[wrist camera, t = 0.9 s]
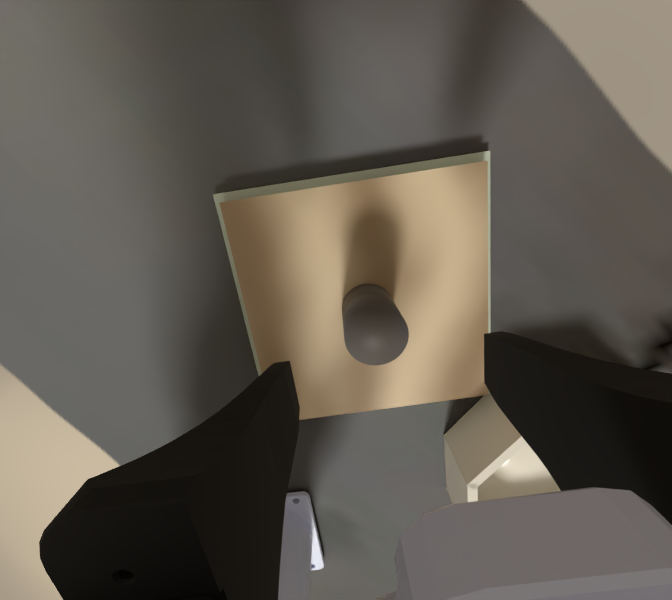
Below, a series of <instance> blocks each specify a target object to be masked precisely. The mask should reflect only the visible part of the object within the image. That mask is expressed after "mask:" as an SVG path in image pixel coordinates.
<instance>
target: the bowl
mask: <svg viewBox="0 0 672 600" xmlns="http://www.w3.org/2000/svg"><path fill="white" fill-rule="evenodd" d="M443 436H444V450H445V472H446V488H447V491H448V493H449V496H450V498H451V501H452V503H453V504H458V503H466V502H474V501H482V500H491V499H499V498H507V497H516V496H524V495H532V494H540V493H549V492H557V491H561V490H560V489H559V487H558V486H557V484H556V482H555V481H554V479H553V478H552V476H551V475H550V473H549V472H548V470H547V469H546V467H545V466H544V464H543V463H542V462H541V460H540V459H539V458H538V456H537V455H536V454H535V452H534V451H533V450H532V449H531V447H530V446H529V445H528V444H527V442H526V441H525V440H524V439H523V437H522V436H521V435H520V434H519V432H518V431H517V430H516V429H515V427H514V426H513V425H512V423H511V422H510V421H509V420H508V418H507V417H506V416H505V415H504V413H503V412H502V411H501V409H500V408H499V407H498V405H497V404H496V402H495V400H494V399H493V397H492V395H491V394H490V393H489V395H484V396H483V397H482V398H481V399H480V400H479V401H478V402H477V403H476V404H475V405H474V406H473V407H472V408H471V409H470V410H469V411H468V412H467V413H466V414H465V415H464V416H463V417H462V418H461V419H460V420H458V421H457V422H456V423H455V424H454V425H453V426H452V427H451V428H450V429H449V430H448V431H447V432H446V433H445V434H444V435H443Z"/></svg>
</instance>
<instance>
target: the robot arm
mask: <svg viewBox="0 0 672 600" xmlns="http://www.w3.org/2000/svg"><path fill="white" fill-rule="evenodd" d="M484 383H485V385H486V386H487V388H488V390H489V392H490V394H491V395H492V397H493V399H494V400H495V402H496V404H497V405H498V407H499V408H500V409H501V411H502V412H503V413H504V415H505V416H506V417H507V418H508V420H509V421H510V422H511V423H512V425H513V426H514V427H515V429H516V430H517V431H518V432H519V434H520V435H521V436H522V437H523V439H524V440H525V441H526V442H527V444H528V445H529V446H530V447H531V449H532V450H533V451H534V452H535V454H536V455H537V456H538V458H539V459H540V460H541V462H542V463H543V464H544V466H545V467H546V469H547V470H548V472H549V473H550V475H551V476H552V478H553V479H554V481H555V482H556V484H557V486H558V487H559V489H560V490H561V491H557V492H549V493H540V494H532V495H524V496H516V497H507V498H499V499H491V500H482V501H474V502H466V503H458V504H451V505H448V506H444V507H441V508H438V509H435V510H432V511H429V512H426V513H423V514H422V515H421V516H420V517H419V518H418V519H417V520H416V521H415V522H413V523H412V524H411V525H410V526H409V527H408V528H407V529H406V530H405V531H404V532H403V533H402V534H401V535H400V538H399V542H398V546H397V550H396V555H395V565H396V572H397V580H398V585H397V591H396V592H393V593H390V594H388V595H385V596H382V597H380V598H377V599H374V600H672V374H670V373H664V372H657V371H651V370H645V369H639V368H634V367H629V366H624V365H620V364H615V363H610V362H606V361H602V360H597V359H593V358H590V357H586V356H582V355H579V354H575V353H572V352H568V351H565V350H562V349H558V348H555V347H552V346H549V345H546V344H543V343H539V342H536V341H533V340H530V339H527V338H524V337H521V336H517V335H514V334H510V333H506V332H501V331H500V332H493V333H486V334H484ZM299 414H300V406H299V401H298V396H297V392H296V387H295V382H294V378H293V373H292V368H291V364H290V361H284V362H276V363H273V364H272V365H271V366H269V367H268V368H267V369H266V370H265V371H264V372H263V373H262V374H261V375H260V376H259V377H258V378H257V379H256V380H255V381H254V382H252V383H251V384H250V385H249V386H248V387H247V388H246V389H245V390H244V391H243V392H242V393H240V394H239V395H238V396H237V397H236V398H235V399H233V400H232V401H231V402H230V403H229V404H228V405H226V406H225V407H224V408H223V409H221V410H220V411H219V412H217V413H216V414H214V415H213V416H212V417H210V418H209V419H207V420H206V421H204V422H203V423H202V424H200V425H198V426H197V427H195V428H194V429H192V430H190V431H189V432H187V433H185V434H184V435H182V436H180V437H178V438H177V439H175V440H173V441H172V442H170V443H168V444H166V445H164V446H162V447H160V448H158V449H156V450H154V451H152V452H150V453H148V454H146V455H144V456H142V457H140V458H138V459H136V460H133V461H131V462H129V463H127V464H124V465H122V466H119V467H117V468H115V469H112V470H110V471H107V472H105V473H103V474H100V475H98V476H95V477H93V478H90V479H88V480H87V481H86V482H85V483H84V484H83V485H82V487H81V488H80V489H79V490H78V491H77V492H76V494H75V495H74V496H73V497H72V498H71V499H70V501H69V502H68V503H67V504H66V505H65V507H64V508H63V509H62V510H61V511H60V512H59V513H58V515H57V516H56V517H55V518H54V519H53V520H52V522H51V523H50V524H49V525H48V526H47V528H46V529H45V530H44V532H43V534H42V537H41V540H40V542H39V544H40V559H41V561H42V563H43V566H44V568H45V570H46V572H47V574H48V575H49V577H50V579H51V580H52V582H53V583H54V585H55V587H56V588H57V590H58V592H59V593H60V595H61V596H62V598H63V600H309V595H310V577H311V570H319V569H322V568H323V567H324V557H323V553H322V548H321V544H320V540H319V535H318V531H317V526H316V522H315V517H314V513H313V509H312V504H311V500H310V495H309V494H308V493H307V492H305V491H300V492H292V493H287V488H288V483H289V478H290V473H291V468H292V463H293V457H294V452H295V447H296V442H297V436H298V431H299Z"/></svg>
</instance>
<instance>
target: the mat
mask: <svg viewBox="0 0 672 600" xmlns="http://www.w3.org/2000/svg"><path fill="white" fill-rule="evenodd" d="M482 161H488V333H490V151H484V152H478V153H472V154H465V155H459V156H453V157H446V158H440V159H434V160H427V161H421V162H415V163H408V164H402V165H396V166H389V167H383V168H377V169H370V170H364V171H358V172H351V173H345V174H339V175H332V176H326V177H320V178H313V179H307V180H301V181H294V182H288V183H281V184H275V185H269V186H262V187H256V188H250V189H243V190H237V191H231V192H224V193H218V194H213V197H214V201H215V205H216V209H217V213H218V217H219V221H220V225H221V229H222V233H223V237H224V241H225V245H226V249H227V253H228V257H229V261H230V265H231V268H232V272H233V276H234V280H235V284H236V288H237V292H238V296H239V300H240V304H241V308H242V312H243V316H244V320H245V324H246V328H247V332H248V336H249V340H250V344H251V348H252V352H253V356H254V360H255V364H256V368H257V372H258V376H260V375H261V374H262V373H261V369H260V365H259V361H258V357H257V353H256V349H255V345H254V341H253V337H252V333H251V329H250V325H249V321H248V317H247V313H246V309H245V305H244V300H243V296H242V292H241V288H240V284H239V280H238V276H237V272H236V268H235V264H234V260H233V256H232V252H231V248H230V244H229V240H228V236H227V232H226V228H225V224H224V220H223V216H222V212H221V208H220V204H219V203H220V202H227V201H233V200H239V199H246V198H252V197H258V196H265V195H271V194H278V193H284V192H290V191H297V190H303V189H310V188H316V187H322V186H329V185H335V184H341V183H348V182H354V181H361V180H367V179H373V178H380V177H386V176H392V175H399V174H405V173H412V172H418V171H424V170H431V169H437V168H443V167H450V166H456V165H463V164H469V163H475V162H482ZM489 393H490V392H489Z"/></svg>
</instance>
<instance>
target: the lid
mask: <svg viewBox="0 0 672 600" xmlns="http://www.w3.org/2000/svg"><path fill="white" fill-rule="evenodd" d="M219 204H220V208H221V212H222V216H223V220H224V224H225V228H226V232H227V236H228V240H229V244H230V248H231V252H232V256H233V260H234V264H235V268H236V272H237V276H238V280H239V284H240V288H241V292H242V296H243V300H244V305H245V309H246V313H247V317H248V321H249V325H250V329H251V333H252V337H253V341H254V345H255V349H256V353H257V357H258V361H259V365H260V369H261V373H263V372H264V371H265V370H266V369H267V368H268V367H269V366H271V365H272V364H273V363H276V362H284V361H290V364H291V368H292V373H293V378H294V382H295V387H296V392H297V396H298V401H299V406H300V414H299V420H303V419H311V418H318V417H326V416H333V415H341V414H348V413H356V412H363V411H371V410H378V409H386V408H393V407H401V406H409V405H416V404H424V403H431V402H439V401H446V400H454V399H461V398H469V397H476V396H484V395H489V390H488V388H487V386H486V385H485V383H484V334H486V333H488V161H482V162H475V163H469V164H463V165H456V166H450V167H443V168H437V169H431V170H424V171H418V172H412V173H405V174H399V175H392V176H386V177H380V178H373V179H367V180H361V181H354V182H348V183H341V184H335V185H329V186H322V187H316V188H310V189H303V190H297V191H290V192H284V193H278V194H271V195H265V196H258V197H252V198H246V199H239V200H233V201H227V202H220V203H219Z"/></svg>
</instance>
